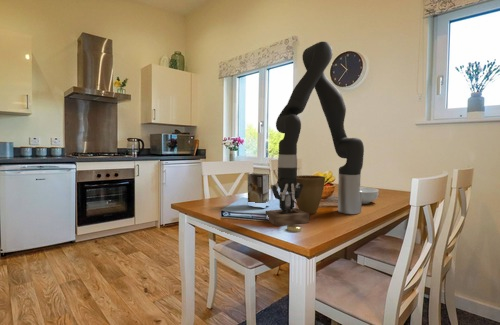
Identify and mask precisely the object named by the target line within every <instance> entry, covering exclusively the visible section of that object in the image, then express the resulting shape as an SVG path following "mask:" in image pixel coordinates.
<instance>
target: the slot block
mask: <svg viewBox="0 0 500 325" xmlns="http://www.w3.org/2000/svg"><path fill="white" fill-rule="evenodd" d="M266 214H267V215H268V217H269V221H268V222H269V223H270V224H272V225H274V226H275V227H282V226H288V225H293V224H294V225H299V224H308V223H310V214H309V213H306V212H304V211H302V210H299V208H297V207H294V208H293V209H291V213H283V210H281V209H274V210H273V209H271V210H265V215H266Z"/></svg>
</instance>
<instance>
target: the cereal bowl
mask: <svg viewBox="0 0 500 325" xmlns="http://www.w3.org/2000/svg"><path fill="white" fill-rule="evenodd" d="M360 191H362V205H363V204H370V203H371V202H373V201H375V200H377V198H378V197H379V189H377V188H375V187H365V186H360Z"/></svg>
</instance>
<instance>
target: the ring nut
mask: <svg viewBox="0 0 500 325" xmlns="http://www.w3.org/2000/svg"><path fill="white" fill-rule="evenodd" d="M286 227H287V229H286V230H287V231H288V232H291V233H300V232H302V228H303V227H302V226H301V225H299V224H292V225H286Z"/></svg>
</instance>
